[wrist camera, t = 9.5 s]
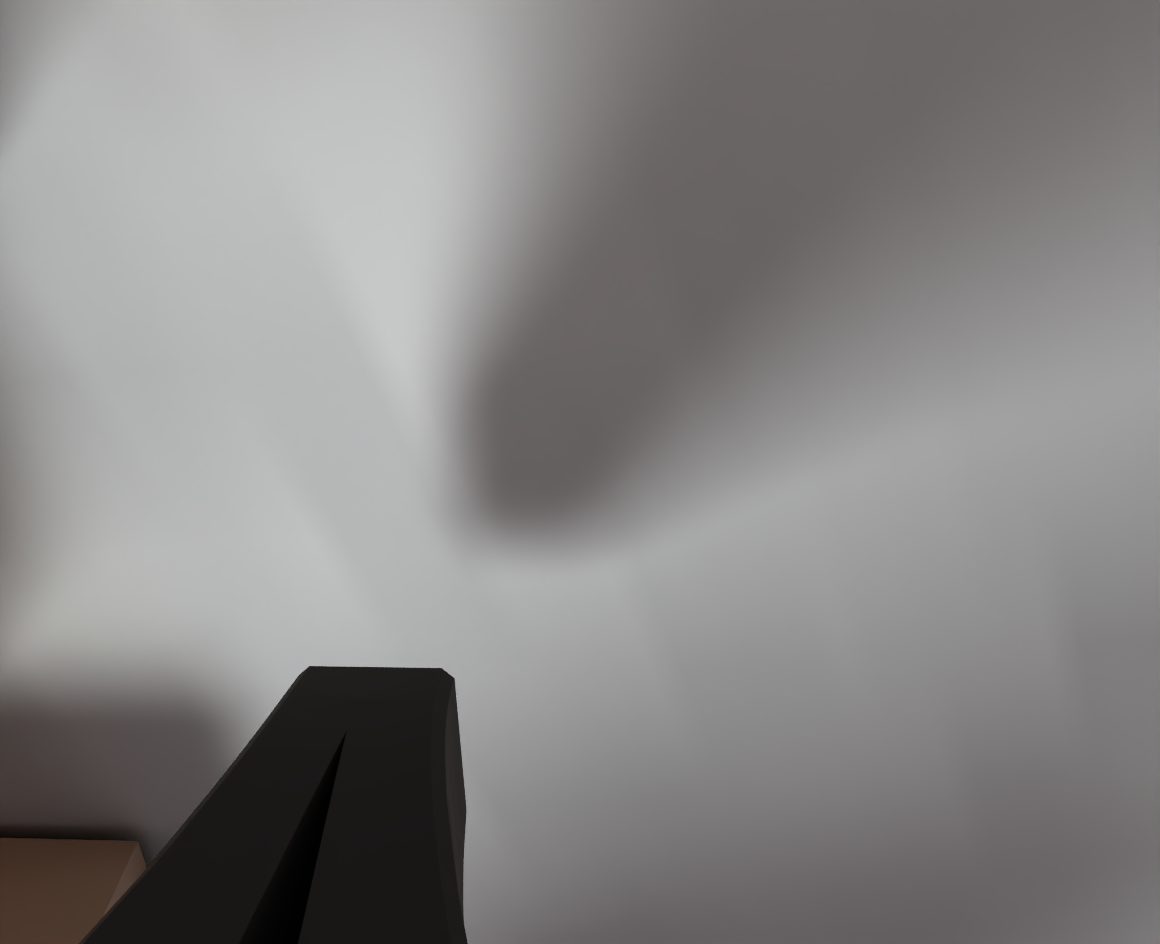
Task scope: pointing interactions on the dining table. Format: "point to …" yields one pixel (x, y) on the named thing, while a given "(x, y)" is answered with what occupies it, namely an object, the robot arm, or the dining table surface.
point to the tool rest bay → (61, 886)
